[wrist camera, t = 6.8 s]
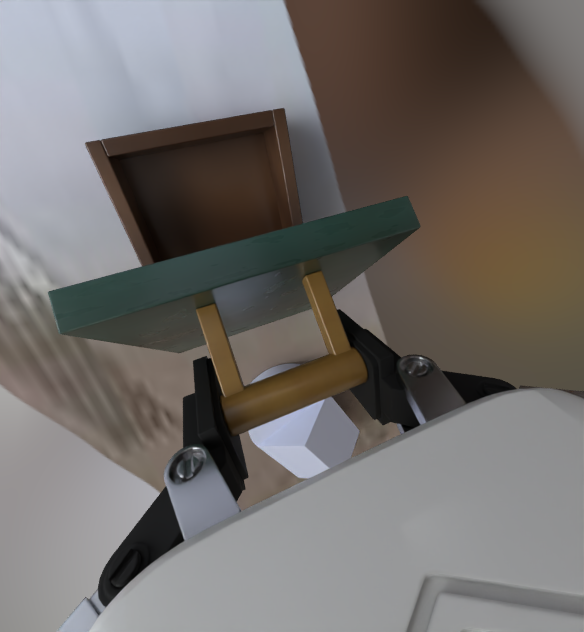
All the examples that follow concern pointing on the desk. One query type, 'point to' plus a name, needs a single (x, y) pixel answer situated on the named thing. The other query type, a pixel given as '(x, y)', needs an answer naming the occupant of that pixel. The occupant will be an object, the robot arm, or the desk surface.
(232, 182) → the drawer box
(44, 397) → the desk surface
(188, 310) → the panel with handle
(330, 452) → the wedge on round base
